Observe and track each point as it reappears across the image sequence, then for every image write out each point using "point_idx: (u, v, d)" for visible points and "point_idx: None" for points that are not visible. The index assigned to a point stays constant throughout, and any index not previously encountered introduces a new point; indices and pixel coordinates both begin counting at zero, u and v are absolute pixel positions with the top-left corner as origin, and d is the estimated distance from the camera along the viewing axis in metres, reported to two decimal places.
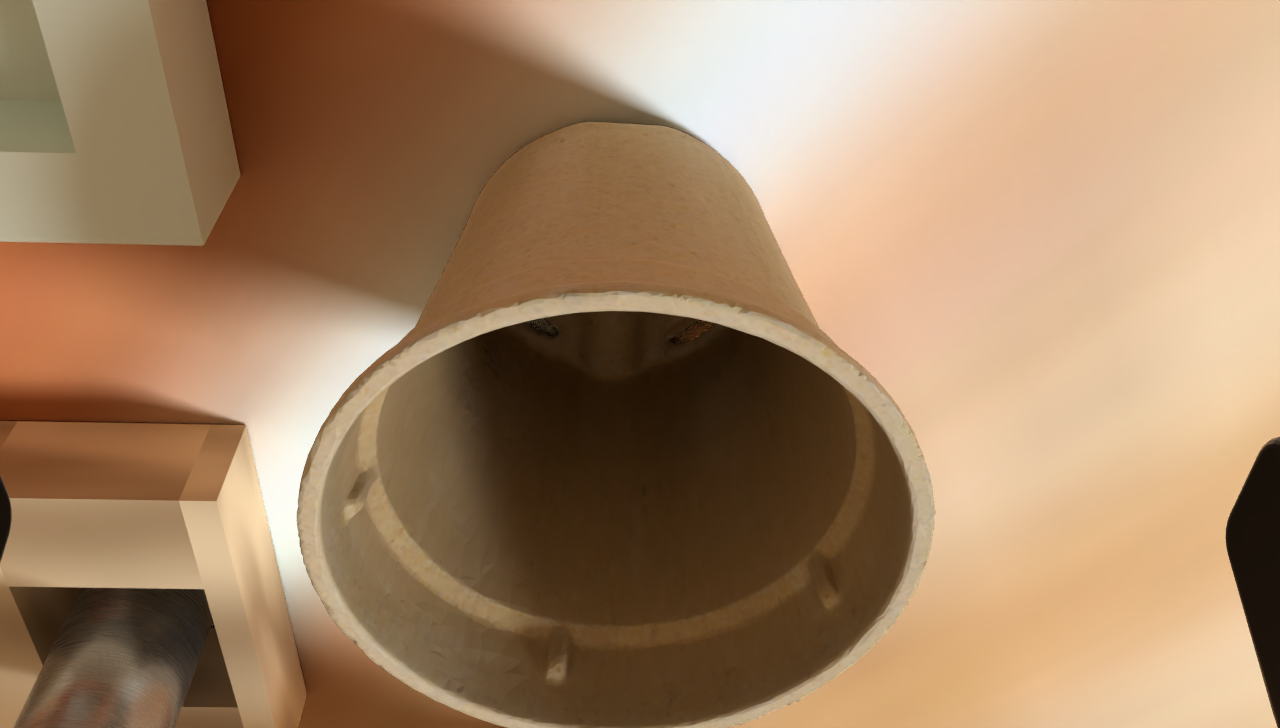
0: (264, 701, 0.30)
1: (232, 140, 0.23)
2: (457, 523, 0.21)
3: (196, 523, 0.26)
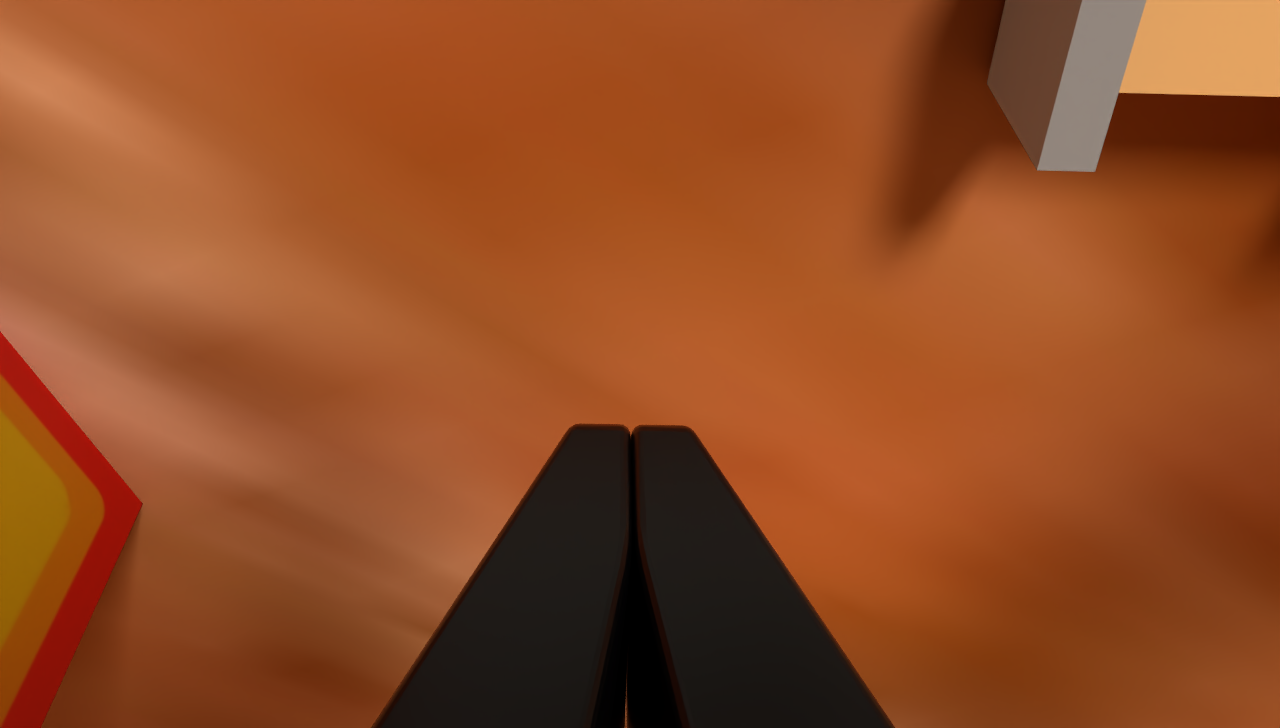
0: None
1: None
2: None
3: None
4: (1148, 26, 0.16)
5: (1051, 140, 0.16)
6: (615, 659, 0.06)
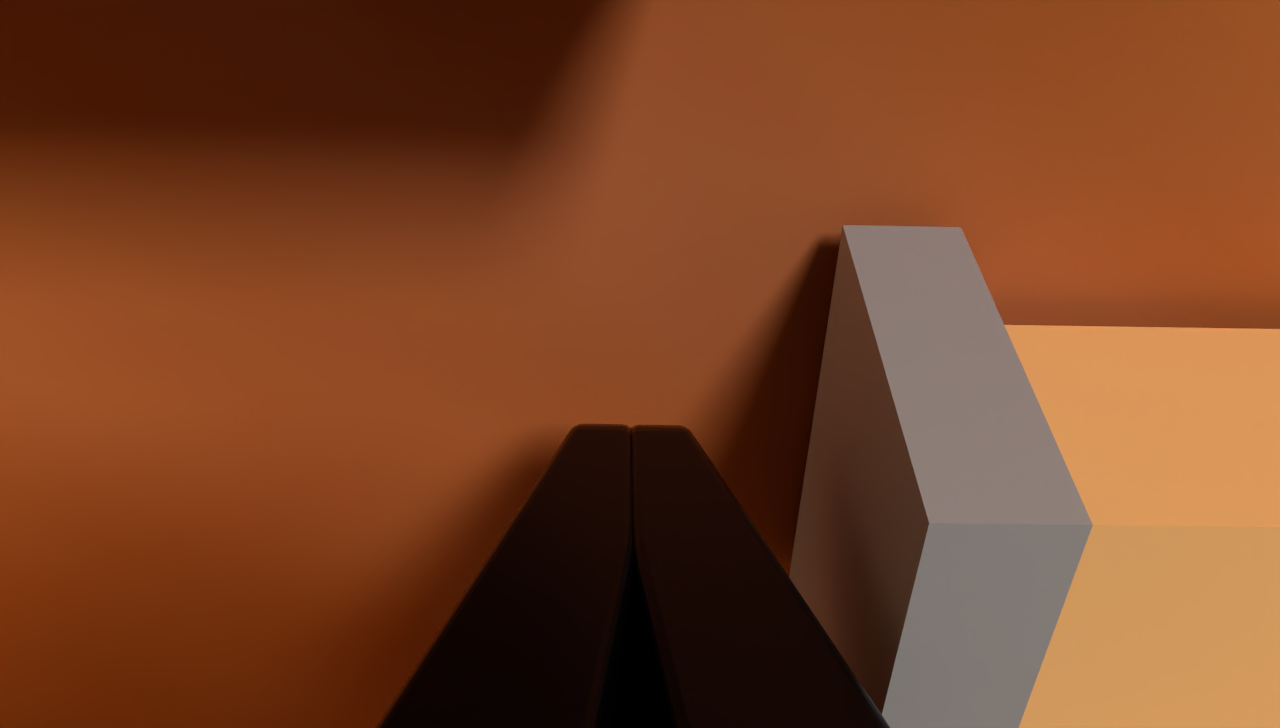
0: None
1: None
2: None
3: None
4: (1054, 646, 0.07)
5: None
6: (619, 659, 0.06)
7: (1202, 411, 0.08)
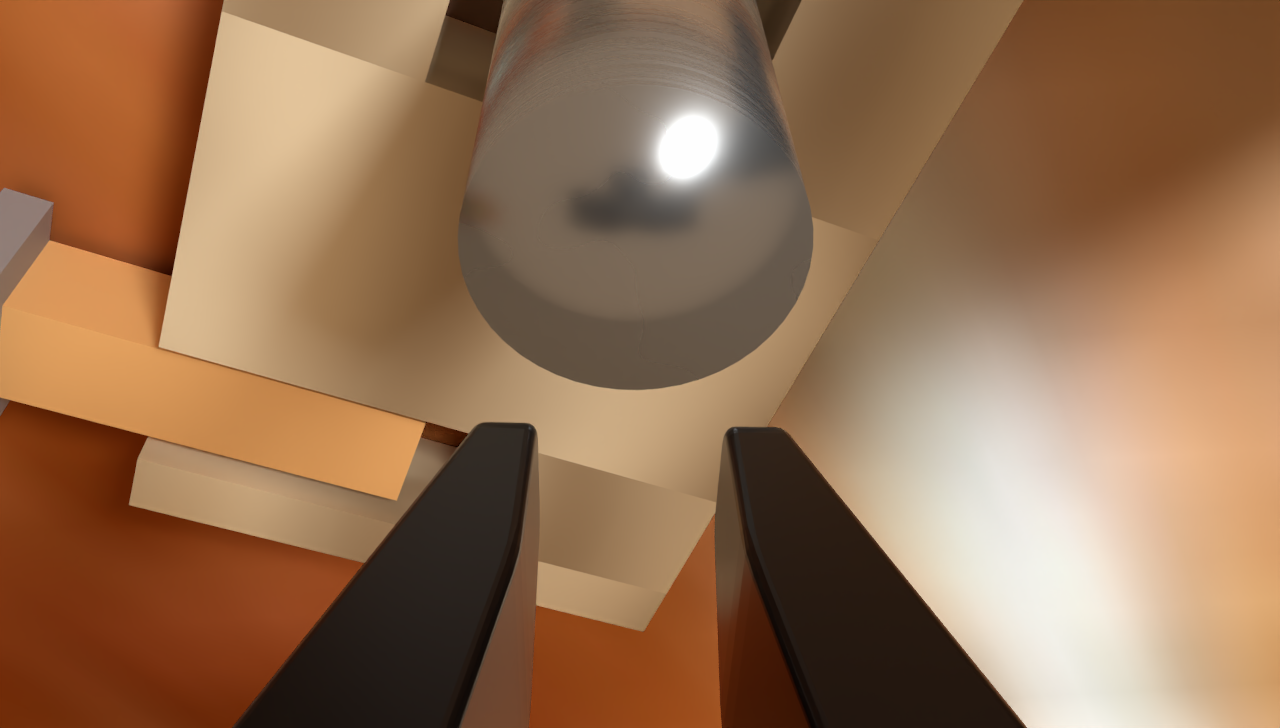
0: None
1: None
2: None
3: None
4: (28, 363, 0.20)
5: None
6: (496, 658, 0.06)
7: (122, 296, 0.20)
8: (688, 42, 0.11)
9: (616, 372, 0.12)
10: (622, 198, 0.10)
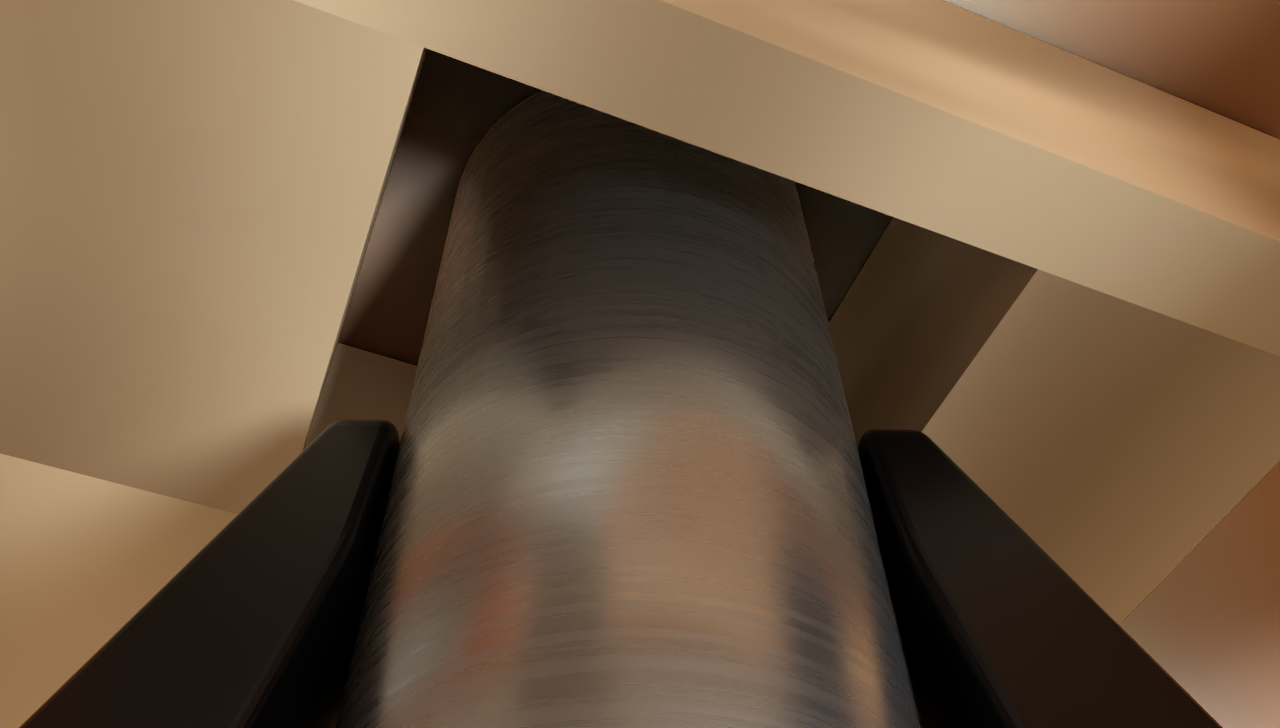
0: (1067, 173, 0.08)
1: None
2: None
3: None
4: None
5: None
6: (316, 655, 0.06)
7: None
8: None
9: None
10: None
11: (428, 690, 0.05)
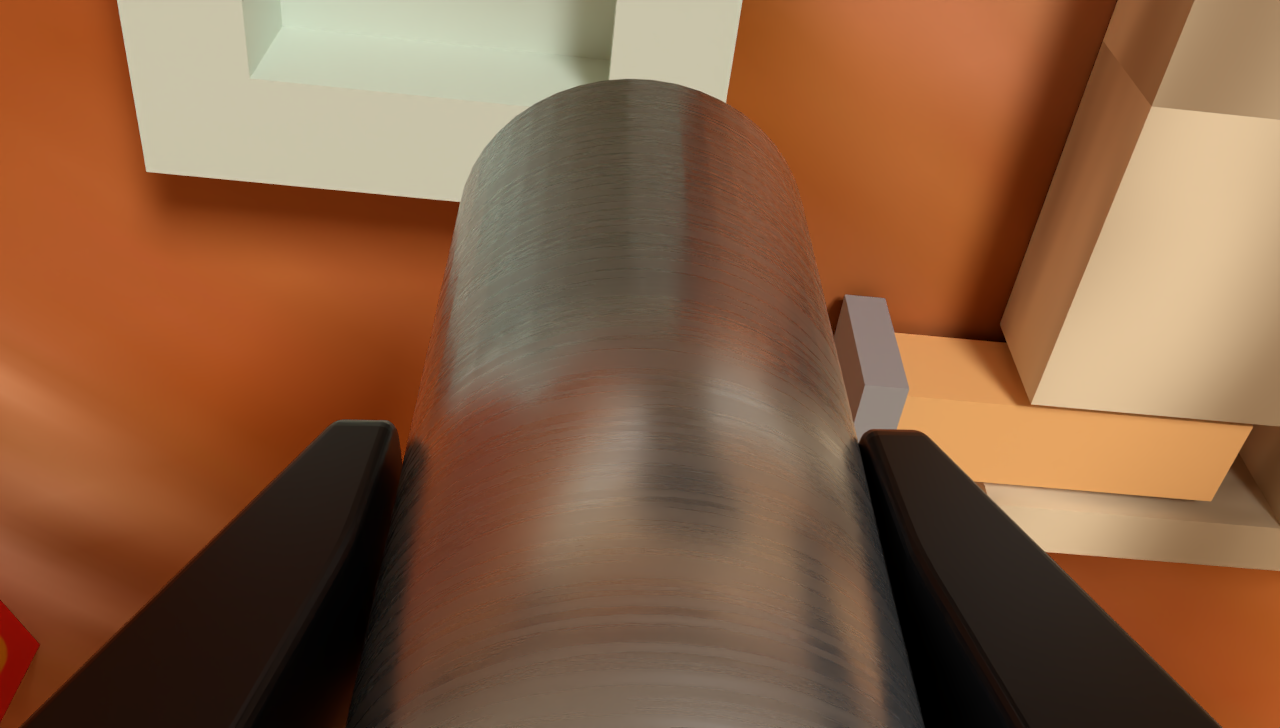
0: None
1: None
2: None
3: None
4: None
5: None
6: (316, 655, 0.06)
7: (960, 367, 0.23)
8: None
9: None
10: None
11: (436, 704, 0.05)
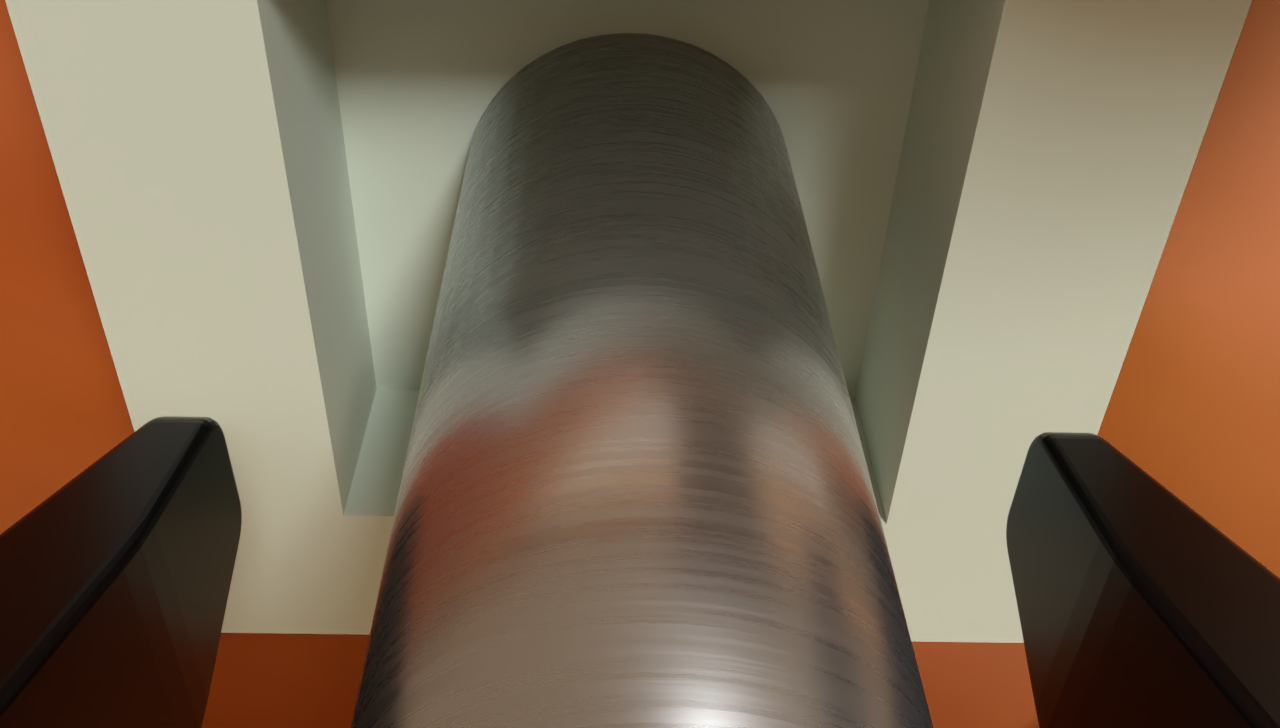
0: None
1: None
2: None
3: None
4: None
5: None
6: (88, 652, 0.06)
7: None
8: None
9: None
10: None
11: (465, 544, 0.06)
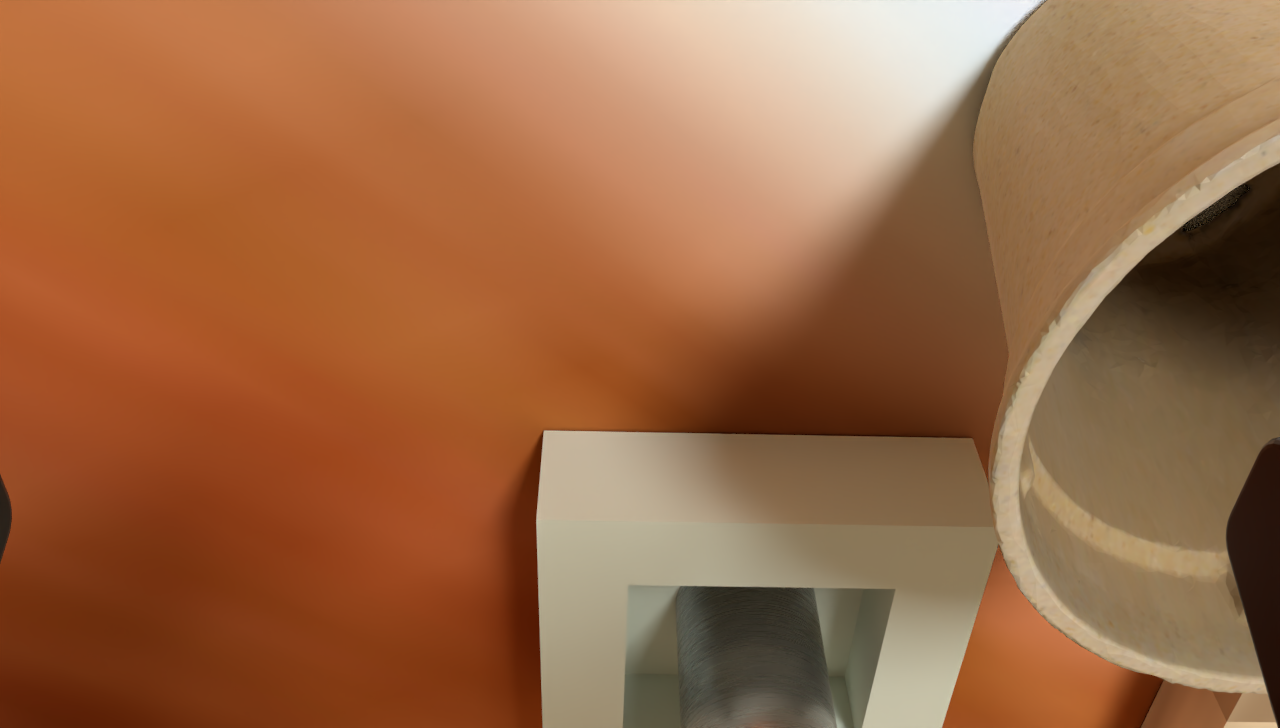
0: None
1: (935, 439, 0.25)
2: None
3: None
4: None
5: None
6: None
7: None
8: None
9: None
10: None
11: None
